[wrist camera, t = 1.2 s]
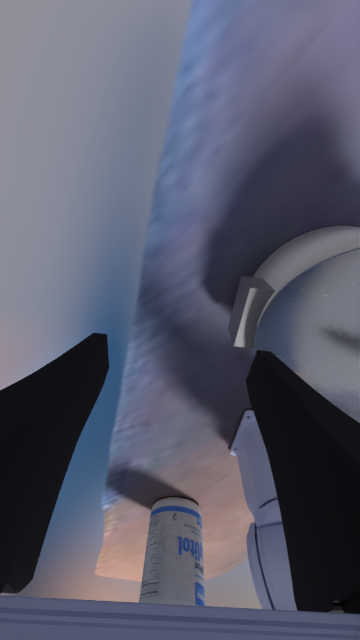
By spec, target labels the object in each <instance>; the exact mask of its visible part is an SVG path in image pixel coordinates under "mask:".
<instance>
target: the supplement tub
mask: <svg viewBox="0 0 360 640" xmlns="http://www.w3.org/2000/svg"><path fill="white" fill-rule="evenodd" d="M139 603H153V604H172V605H191V606H205V600H204V571H203V542H202V515H201V510H200V508H199V506H198V505H197V504H196V503H194V502H193V501H191V500H188V499H183V498H178V497H169V498H164V499H161V500H159V501H157V502H156V503H155V504H154V505H153V506H152V509H151V516H150V523H149V531H148V539H147V546H146V553H145V561H144V568H143V576H142V584H141V591H140V599H139Z"/></svg>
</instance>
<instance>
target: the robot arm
mask: <svg viewBox="0 0 360 640" xmlns="http://www.w3.org/2000/svg"><path fill="white" fill-rule="evenodd" d="M108 369H109V360H108V345H107V335H106V334H99V333H93V334H91V335H90V336H88V337H87V338H86V339H84V340H83V341H81V342H80V343H79V344H77V345H76V346H74V347H73V348H71V349H70V350H69V351H67V352H66V353H64V354H63V355H61V356H60V357H58V358H57V359H55V360H53V361H52V362H50V363H49V364H47V365H45V366H44V367H42V368H41V369H39V370H37V371H36V372H34V373H32V374H31V375H29V376H27V377H25V378H23V379H22V380H20V381H18V382H16V383H14V384H12V385H10V386H8V387H6V388H4V389H2V390H0V593H18V592H20V591H21V590H22V589H23V588H24V587H26V586H27V585H28V583H29V582H30V581H31V580H32V579H33V575H34V572H35V569H36V565H37V562H38V558H39V555H40V552H41V549H42V545H43V542H44V539H45V535H46V532H47V529H48V525H49V522H50V520H51V516H52V513H53V510H54V507H55V504H56V501H57V498H58V495H59V492H60V489H61V486H62V483H63V480H64V477H65V474H66V471H67V469H68V466H69V463H70V460H71V458H72V455H73V452H74V449H75V447H76V444H77V441H78V439H79V436H80V434H81V432H82V430H83V428H84V425H85V423H86V421H87V419H88V417H89V415H90V413H91V410H92V408H93V407H94V404H95V402H96V400H97V398H98V396H99V394H100V391H101V389H102V387H103V384H104V381H105V378H106V375H107V372H108ZM246 383H247V389H248V394H249V399H250V402H251V406H252V409H253V410H246V411H245V412H244V415H243V418H242V420H241V423H240V426H239V428H238V431H237V434H236V436H235V439H234V441H233V444H232V447H231V449H230V454H231V455H235V456H237V458H238V463H239V468H240V474H241V479H242V484H243V489H244V494H245V499H246V502H247V505H248V508H249V510H250V511H251V513H252V515H253V516H254V519H255V523H251V524H250V527H249V531H248V534H247V552H248V559H249V565H250V570H251V574H252V578H253V582H254V586H255V589H256V593H257V596H258V598H259V602H260V604H261V606H262V609H248V608H229V607H210V606H191V605H172V604H153V603H132V602H114V601H113V602H112V601H95V600H75V599H56V598H35V597H16V596H0V640H360V423H359V422H357V421H356V420H355V419H353V418H352V417H350V416H349V415H347V414H346V413H345V412H343V411H342V410H340V409H339V408H338V407H336V406H335V405H334V404H332V403H331V402H330V401H328V400H327V399H326V398H325V397H323V396H322V395H321V394H320V393H318V392H317V391H316V390H315V389H313V388H312V387H311V386H310V385H309V384H307V383H306V382H305V381H304V380H303V379H302V378H300V377H299V376H298V375H297V374H296V373H295V372H294V371H292V370H291V369H290V368H289V367H288V366H287V365H286V364H285V363H283V362H282V361H281V360H280V359H279V358H278V357H277V356H275V355H274V354H273V353H272V352H270V351H263V350H257V352H256V355H255V358H254V361H253V363H252V366H251V369H250V372H249V374H248V377H247V380H246Z"/></svg>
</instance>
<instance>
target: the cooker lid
mask: <svg viewBox="0 0 360 640" xmlns="http://www.w3.org/2000/svg"><path fill="white" fill-rule="evenodd" d="M257 350H263V351H270V352H272V353H273V354H274V355H275V356H277V357H278V358H279V359H280V360H281V361H282V362H283V363H285V364H286V365H287V366H288V367H289V368H290V369H291V370H292V371H294V372H295V373H296V374H297V375H298V376H299V377H300V378H302V379H303V380H304V381H305V382H306V383H307V384H309V385H310V386H311V387H312V388H313V389H315V390H316V391H317V392H318V393H320V394H321V395H322V396H323V397H325V398H326V399H327V400H328V401H330V402H331V403H332V404H334V405H335V406H336V407H338V408H339V409H340V410H342V411H343V412H345V413H346V414H347V415H349V416H350V417H352V418H353V419H355V420H356V421H357V422H359V423H360V247H359V248H355V249H352V250H349V251H346V252H342V253H339V254H336V255H334V256H332V257H329V258H327V259H325V260H323V261H320V262H318V263H316V264H315V265H313V266H311V267H309V268H308V269H306V270H304V271H303V272H301V273H300V274H298V275H297V276H296V277H294V278H293V279H292V280H290V281H289V282H288V283H287V284H286V285H285V286H284V287H283V288H282V289H281V290H280V291H279V292H278V293H277V294H276V295H275V297H274V298H273V299H272V300H271V302H270V303H269V305H268V306H267V308H266V309H265V311H264V313H263V314H262V316H261V318H260V321H259V323H258V326H257V329H256V333H255V337H254V347H253V352H254V358H255V355H256V352H257Z"/></svg>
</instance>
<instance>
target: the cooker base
mask: <svg viewBox="0 0 360 640" xmlns="http://www.w3.org/2000/svg"><path fill="white" fill-rule="evenodd" d="M359 247H360V227H354V226H329V227H324V228H319V229H315V230H312V231H309V232H307V233H304V234H302V235H300V236H298V237H295V238H293V239H292V240H290V241H288V242H287V243H285V244H284V245H282V246H281V247H280V248H278V249H277V250H276V251H274V252H273V253H272V254H271V255H270V256H269V257H268V258H267V259H266V260H265V261H264V262H263V263H262V264H261V266H260V267H259V268H258V269H257V271H256V272H255V274H254V275H253V277H247V276H241V279H240V283H239V287H238V291H237V295H236V299H235V303H234V307H233V311H232V315H231V319H230V323H229V327H228V330H229V333H230V336H231V339H232V342H233V345H234V346H237V347H246V348H253V347H254V337H255V333H256V329H257V326H258V323H259V321H260V318H261V316H262V314H263V313H264V311H265V309H266V308H267V306H268V305H269V303H270V302H271V300H272V299H273V298H274V297H275V295H276V294H277V293H278V292H279V291H280V290H281V289H282V288H283V287H284V286H285V285H286V284H287V283H288V282H289V281H290V280H292V279H293V278H294V277H296V276H297V275H298V274H300V273H301V272H303V271H304V270H306V269H308V268H309V267H311V266H313V265H315V264H316V263H318V262H320V261H323V260H325V259H327V258H329V257H332V256H334V255H336V254H339V253H342V252H346V251H349V250H352V249H355V248H359Z"/></svg>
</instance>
